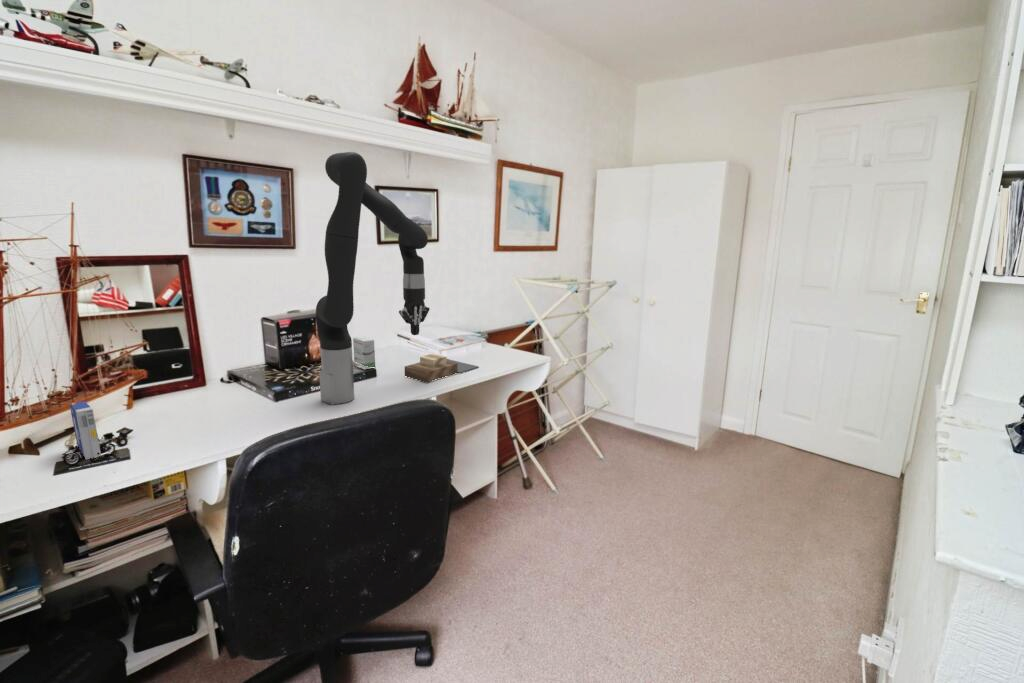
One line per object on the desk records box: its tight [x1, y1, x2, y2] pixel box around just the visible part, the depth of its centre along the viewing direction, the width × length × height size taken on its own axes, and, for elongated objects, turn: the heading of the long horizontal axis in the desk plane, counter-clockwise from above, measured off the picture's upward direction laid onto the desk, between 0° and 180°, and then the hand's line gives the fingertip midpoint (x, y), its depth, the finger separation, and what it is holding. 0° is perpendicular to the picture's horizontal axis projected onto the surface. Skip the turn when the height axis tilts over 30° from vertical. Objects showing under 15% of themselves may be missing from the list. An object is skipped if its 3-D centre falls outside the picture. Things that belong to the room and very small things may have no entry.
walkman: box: [69, 401, 102, 461], centre depth 111 cm, size 8×3×12 cm, turn 52°
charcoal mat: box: [447, 358, 480, 374], centre depth 193 cm, size 11×18×1 cm, turn 54°
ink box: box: [352, 336, 376, 368], centre depth 187 cm, size 9×5×12 cm, turn 46°
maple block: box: [419, 353, 448, 368], centre depth 180 cm, size 7×7×3 cm
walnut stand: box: [404, 361, 459, 383], centre depth 180 cm, size 16×12×4 cm
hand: (415, 334), depth 170 cm, fingers closed
